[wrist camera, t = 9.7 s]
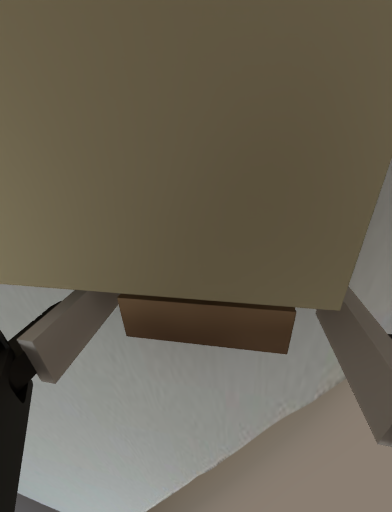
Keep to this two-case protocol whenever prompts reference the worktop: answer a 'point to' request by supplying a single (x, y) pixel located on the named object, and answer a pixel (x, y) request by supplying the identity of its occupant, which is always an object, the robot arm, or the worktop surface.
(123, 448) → the worktop surface
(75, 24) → the cabinet
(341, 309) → the robot arm
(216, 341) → the brown wooden block
